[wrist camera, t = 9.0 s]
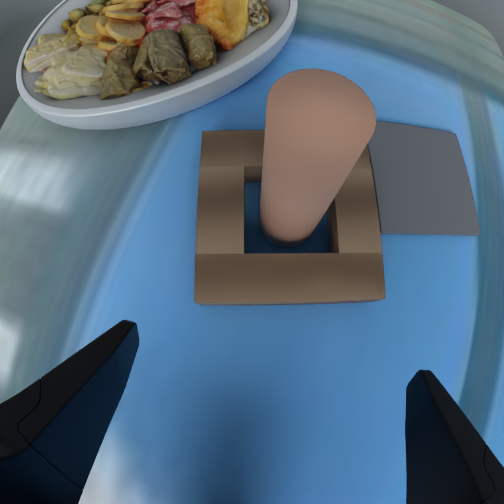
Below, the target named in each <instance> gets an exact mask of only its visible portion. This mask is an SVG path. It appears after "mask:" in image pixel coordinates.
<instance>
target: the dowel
mask: <svg viewBox="0 0 504 504" xmlns="http://www.w3.org/2000/svg"><path fill="white" fill-rule="evenodd" d="M375 126H376V114H375V110H374V107H373V104H372V102H371V101H370V99H369V97H368V96H367V95H366V93H365V92H364V91H363V90H362V89H361V88H360V87H359V86H358V85H356V84H355V83H354V82H352V81H351V80H349V79H348V78H346V77H344V76H342V75H340V74H337V73H334V72H331V71H327V70H322V69H301V70H297V71H293V72H290V73H288V74H286V75H284V76H282V77H281V78H279V79H278V80H277V81H276V82H275V83H274V84H273V86H272V87H271V89H270V91H269V94H268V97H267V107H266V122H265V138H264V153H263V168H262V183H261V198H260V212H259V225H260V229H261V231H262V233H263V235H264V236H265V237H266V239H268V240H269V241H270V242H271V243H273V244H275V245H277V246H280V247H285V248H291V247H296V246H299V245H301V244H303V243H304V242H305V241H307V239H308V238H309V237H310V236H311V234H312V233H313V231H314V229H315V228H316V226H317V225H318V223H319V222H320V220H321V218H322V217H323V215H324V214H325V212H326V210H327V209H328V207H329V206H330V204H331V202H332V201H333V199H334V198H335V196H336V194H337V193H338V191H339V190H340V188H341V186H342V185H343V183H344V181H345V180H346V178H347V177H348V175H349V173H350V172H351V170H352V168H353V167H354V165H355V163H356V162H357V160H358V158H359V157H360V155H361V153H362V152H363V150H364V148H365V147H366V145H367V143H368V142H369V140H370V138H371V137H372V135H373V133H374V130H375Z"/></svg>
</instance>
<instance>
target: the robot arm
mask: <svg viewBox="0 0 504 504" xmlns="http://www.w3.org/2000/svg"><path fill="white" fill-rule="evenodd" d="M138 347H139V335H138V329H137V324H136V323H135V322H132V321H128V320H122V321H121V322H119V323H118V324H116V325H115V326H113V327H112V328H111V329H109V330H108V331H106V332H105V333H103V334H102V335H101V336H99V337H98V338H96V339H95V340H93V341H92V342H91V343H89V344H88V345H86V346H85V347H83V348H82V349H81V350H79V351H78V352H76V353H75V354H74V355H72V356H71V357H69V358H68V359H67V360H65V361H64V362H62V363H61V364H59V365H58V366H57V367H55V368H54V369H52V370H51V371H50V372H48V373H47V374H45V375H44V376H43V377H41V379H38V380H37V381H36V382H34V383H33V384H31V385H30V386H28V387H27V388H26V389H24V390H23V391H21V392H20V393H18V394H16V395H15V396H13V397H11V398H10V399H8V400H6V401H4V402H3V403H1V404H0V504H78V503H79V500H80V497H81V495H82V492H83V489H84V486H85V484H86V481H87V479H88V476H89V473H90V471H91V468H92V466H93V463H94V461H95V458H96V456H97V453H98V451H99V448H100V446H101V444H102V441H103V439H104V436H105V434H106V432H107V429H108V427H109V424H110V422H111V420H112V417H113V415H114V413H115V410H116V408H117V406H118V404H119V401H120V399H121V397H122V395H123V392H124V390H125V387H126V384H127V381H128V378H129V375H130V372H131V369H132V365H133V362H134V359H135V356H136V353H137V350H138ZM405 439H406V470H407V494H406V504H504V467H503V466H502V464H501V463H500V462H499V461H498V459H497V458H496V457H495V455H494V454H493V453H492V451H491V450H490V448H489V447H488V446H487V445H486V443H485V441H484V440H483V439H482V437H481V436H480V434H479V433H478V432H477V430H476V429H475V428H474V426H473V425H472V424H471V422H470V421H469V419H468V418H467V417H466V415H465V414H464V413H463V411H462V410H461V409H460V407H459V406H458V405H457V403H456V402H455V401H454V400H453V398H452V397H451V396H450V394H449V393H448V392H447V390H446V389H445V388H444V387H443V385H442V384H441V383H440V381H439V380H438V379H437V378H436V376H435V375H434V374H433V373H432V372H431V371H430V370H419V371H418V372H417V373H416V374H415V375H414V377H413V378H412V379H411V381H410V382H409V383H408V385H407V389H406V419H405Z"/></svg>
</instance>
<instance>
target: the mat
mask: <svg viewBox="0 0 504 504" xmlns="http://www.w3.org/2000/svg"><path fill="white" fill-rule="evenodd" d="M367 147H368V152H369V158H370V163H371V169H372V175H373V181H374V188H375V195H376V202H377V209H378V217H379V226H380V234H423V235H469V236H478V235H480V229H479V223H478V218H477V213H476V208H475V203H474V198H473V194H472V189H471V185H470V181H469V177H468V173H467V169H466V166H465V162H464V159H463V155H462V152H461V148H460V145H459V142H458V139H457V136H456V134H455V133H450V132H445V131H439V130H434V129H428V128H422V127H416V126H410V125H403V124H396V123H388V122H380V121H376V126H375V130H374V133H373V135H372V137H371V138H370V140H369V142H368V143H367Z"/></svg>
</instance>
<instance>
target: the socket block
mask: <svg viewBox="0 0 504 504" xmlns="http://www.w3.org/2000/svg"><path fill="white" fill-rule="evenodd" d="M264 138H265V130H225V131H202V144H201V158H200V172H199V188H198V206H197V228H196V254H195V296H194V302H195V303H197V304H200V305H295V304H330V303H355V302H373V301H377V300H381V299H385V281H384V267H383V255H382V244H381V235H380V226H379V217H378V209H377V202H376V195H375V188H374V181H373V175H372V169H371V163H370V158H369V152H368V147H367V145H366V147H365V148H364V150H363V152H362V153H361V155H360V157H359V158H358V160H357V162H356V163H355V165H354V167H353V168H352V170H351V172H350V173H349V175H348V177H347V178H346V180H345V181H344V183H343V185H342V186H341V188H340V190H339V191H338V193H337V194H336V196H335V198H334V199H333V201H332V202H331V204H330V206H329V207H328V209H327V219H328V233H329V248H330V253H249V254H245V182H262V168H263V153H264Z"/></svg>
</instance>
